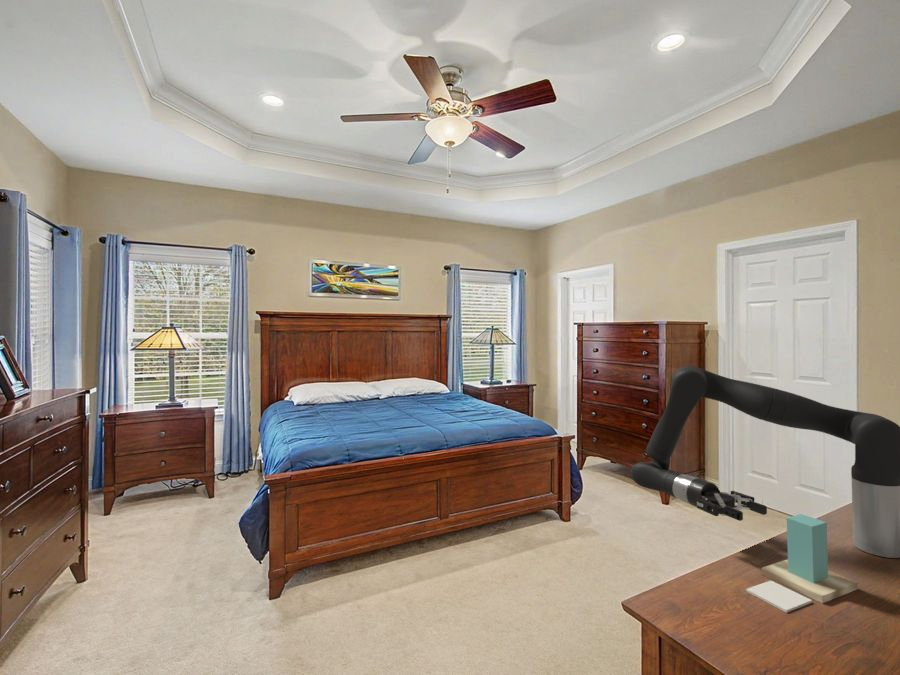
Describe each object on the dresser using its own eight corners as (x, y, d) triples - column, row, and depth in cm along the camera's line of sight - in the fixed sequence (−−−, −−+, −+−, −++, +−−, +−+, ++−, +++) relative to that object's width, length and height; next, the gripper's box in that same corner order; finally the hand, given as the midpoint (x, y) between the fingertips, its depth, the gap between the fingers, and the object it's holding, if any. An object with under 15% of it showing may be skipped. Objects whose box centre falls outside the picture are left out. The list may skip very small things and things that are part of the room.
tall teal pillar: (802, 566, 101) (801, 513, 101) (828, 577, 96) (826, 522, 96) (788, 571, 99) (786, 517, 99) (813, 583, 94) (812, 526, 94)
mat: (770, 582, 98) (770, 580, 98) (812, 602, 90) (811, 600, 90) (745, 591, 95) (745, 589, 95) (786, 612, 87) (786, 610, 87)
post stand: (795, 562, 105) (795, 535, 105) (857, 589, 94) (856, 558, 94) (761, 574, 101) (760, 545, 101) (822, 603, 90) (821, 571, 90)
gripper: (676, 481, 120) (733, 502, 105) (713, 474, 126) (773, 493, 111) (676, 509, 120) (733, 534, 105) (713, 501, 126) (773, 524, 111)
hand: (754, 513), depth 108 cm, fingers open, 8 cm apart
